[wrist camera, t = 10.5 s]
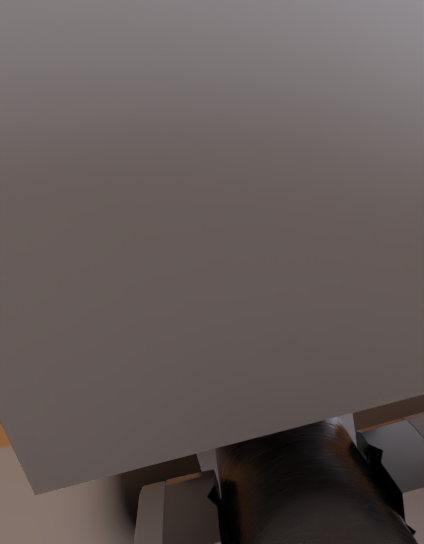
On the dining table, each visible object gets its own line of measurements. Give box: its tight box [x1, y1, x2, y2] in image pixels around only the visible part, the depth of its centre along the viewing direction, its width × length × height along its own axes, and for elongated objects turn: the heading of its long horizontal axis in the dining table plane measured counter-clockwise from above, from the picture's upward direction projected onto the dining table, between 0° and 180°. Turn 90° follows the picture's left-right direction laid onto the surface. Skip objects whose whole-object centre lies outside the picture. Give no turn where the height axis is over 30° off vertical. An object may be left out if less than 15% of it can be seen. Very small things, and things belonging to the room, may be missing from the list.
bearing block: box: [0, 0, 424, 495], centre depth 12 cm, size 8×8×15 cm
